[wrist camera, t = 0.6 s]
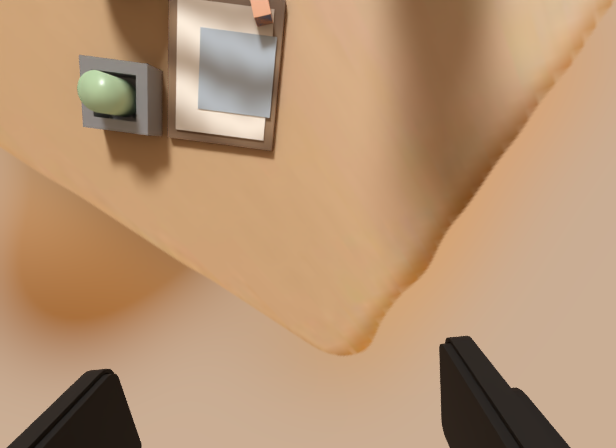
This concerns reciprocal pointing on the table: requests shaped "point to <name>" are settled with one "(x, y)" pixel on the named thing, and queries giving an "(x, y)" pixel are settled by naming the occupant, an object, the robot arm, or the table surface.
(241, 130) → the picture frame
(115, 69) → the button box
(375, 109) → the table surface
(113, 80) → the button
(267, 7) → the marker
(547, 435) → the robot arm
